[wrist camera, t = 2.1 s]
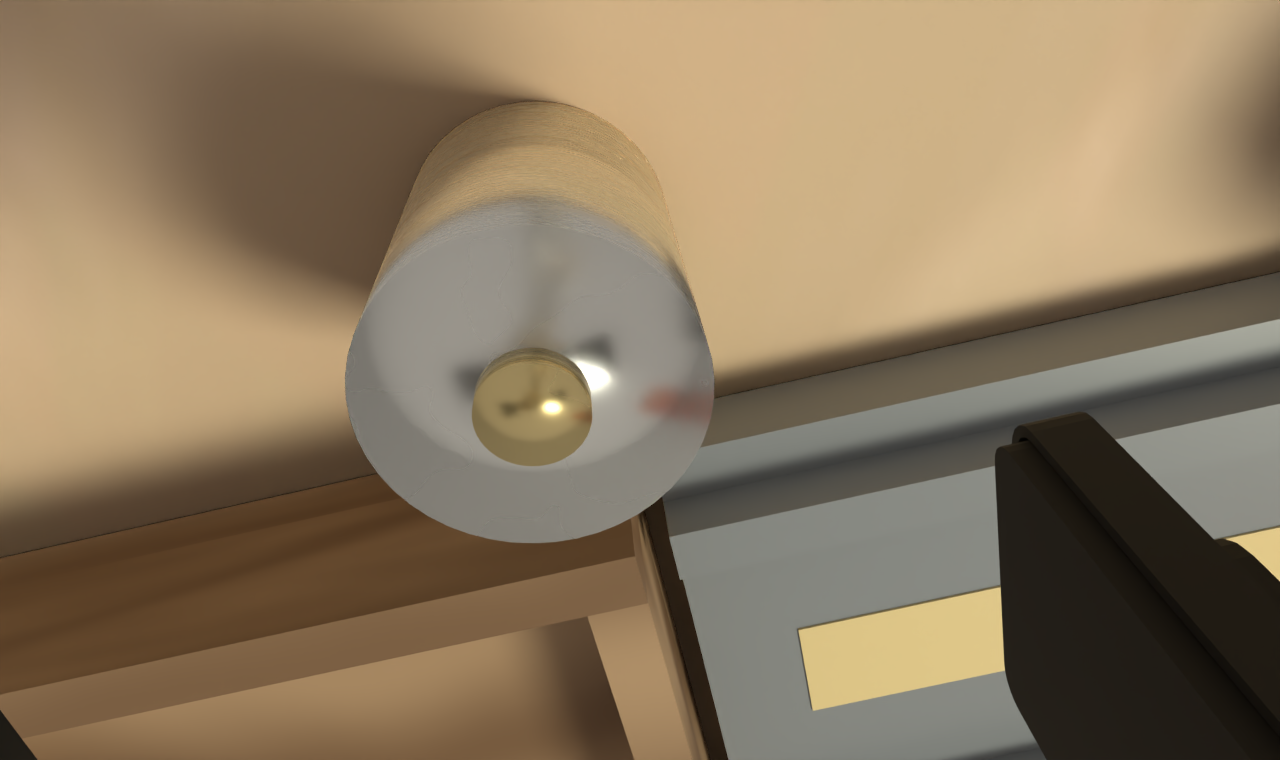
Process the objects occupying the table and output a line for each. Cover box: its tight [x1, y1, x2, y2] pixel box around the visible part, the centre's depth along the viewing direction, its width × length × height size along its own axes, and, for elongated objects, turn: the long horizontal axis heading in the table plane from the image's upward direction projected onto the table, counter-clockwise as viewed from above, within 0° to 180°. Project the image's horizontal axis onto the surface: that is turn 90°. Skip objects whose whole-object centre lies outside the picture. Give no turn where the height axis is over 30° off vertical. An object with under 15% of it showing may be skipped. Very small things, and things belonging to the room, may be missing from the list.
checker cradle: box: [662, 272, 1280, 760], centre depth 20 cm, size 12×14×2 cm
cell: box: [345, 101, 714, 543], centre depth 14 cm, size 4×4×6 cm
